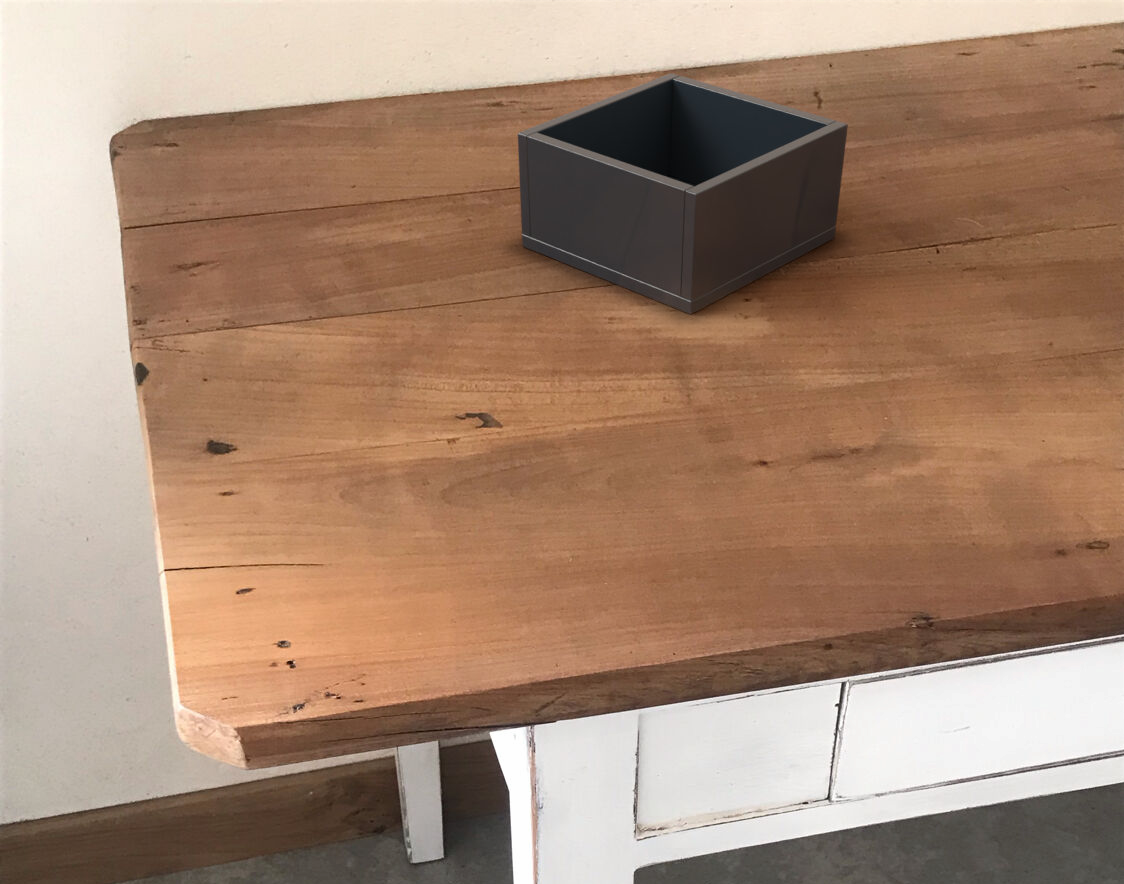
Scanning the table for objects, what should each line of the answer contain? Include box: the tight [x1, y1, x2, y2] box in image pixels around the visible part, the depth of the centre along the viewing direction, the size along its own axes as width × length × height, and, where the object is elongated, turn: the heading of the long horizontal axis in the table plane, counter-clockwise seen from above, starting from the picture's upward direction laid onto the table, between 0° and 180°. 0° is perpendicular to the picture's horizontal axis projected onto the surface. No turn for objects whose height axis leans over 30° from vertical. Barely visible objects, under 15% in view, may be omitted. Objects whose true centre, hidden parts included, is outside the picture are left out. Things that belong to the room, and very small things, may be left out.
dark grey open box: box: [517, 72, 849, 315], centre depth 82 cm, size 14×14×7 cm
